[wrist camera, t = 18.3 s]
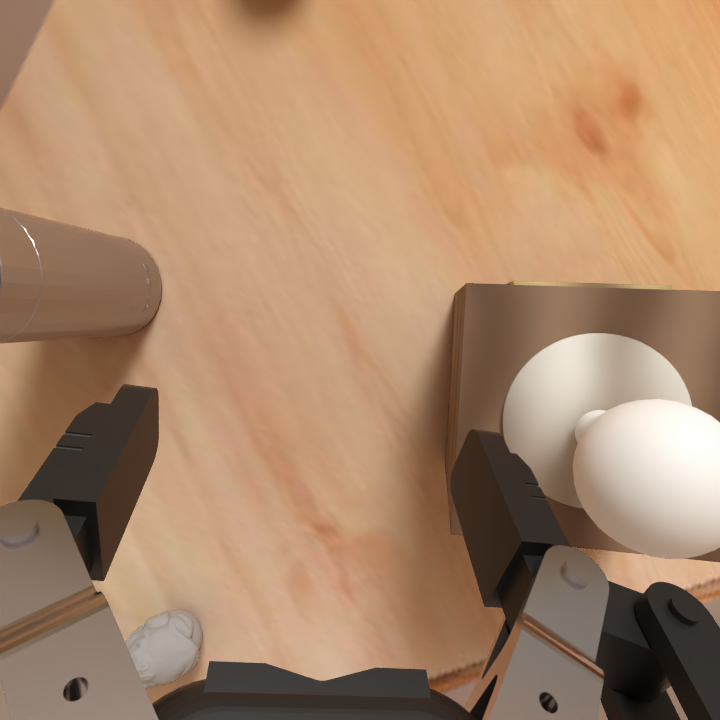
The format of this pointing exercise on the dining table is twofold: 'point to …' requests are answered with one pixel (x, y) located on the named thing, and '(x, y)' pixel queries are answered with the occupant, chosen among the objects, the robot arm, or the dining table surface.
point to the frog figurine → (166, 647)
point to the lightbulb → (651, 476)
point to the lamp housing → (573, 373)
